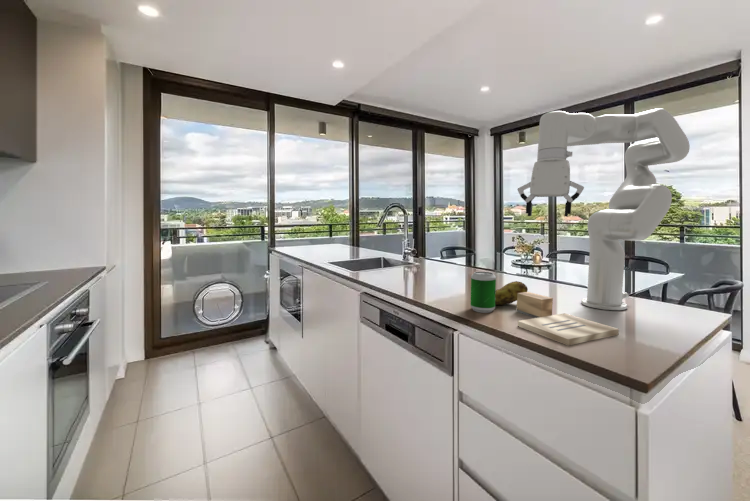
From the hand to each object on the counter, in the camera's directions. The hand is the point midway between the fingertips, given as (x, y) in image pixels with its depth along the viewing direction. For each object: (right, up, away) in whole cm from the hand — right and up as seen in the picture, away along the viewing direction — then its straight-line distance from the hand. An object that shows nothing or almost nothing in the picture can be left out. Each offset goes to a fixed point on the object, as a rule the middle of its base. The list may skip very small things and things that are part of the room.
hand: (547, 216), depth 99 cm
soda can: (-16, -29, +8) cm, 35 cm away
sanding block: (-2, -30, +3) cm, 30 cm away
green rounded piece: (-6, -29, +15) cm, 33 cm away
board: (-1, -31, -11) cm, 33 cm away
